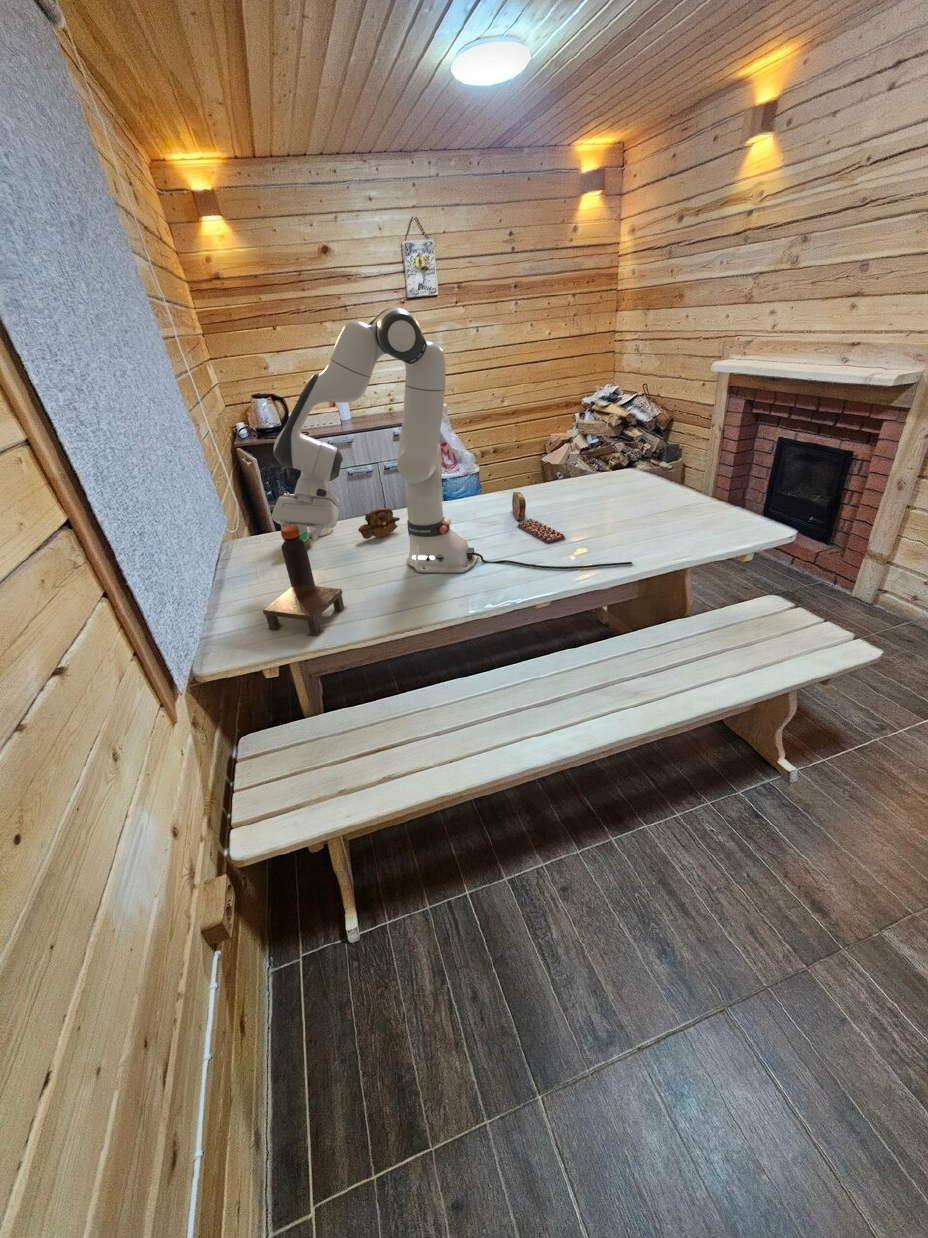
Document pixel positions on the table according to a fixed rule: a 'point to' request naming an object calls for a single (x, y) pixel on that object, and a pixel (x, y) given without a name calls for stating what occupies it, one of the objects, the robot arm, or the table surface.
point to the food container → (304, 535)
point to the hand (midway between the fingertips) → (298, 538)
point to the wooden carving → (378, 523)
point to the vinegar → (296, 557)
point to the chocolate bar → (541, 531)
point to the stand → (304, 605)
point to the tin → (518, 505)
